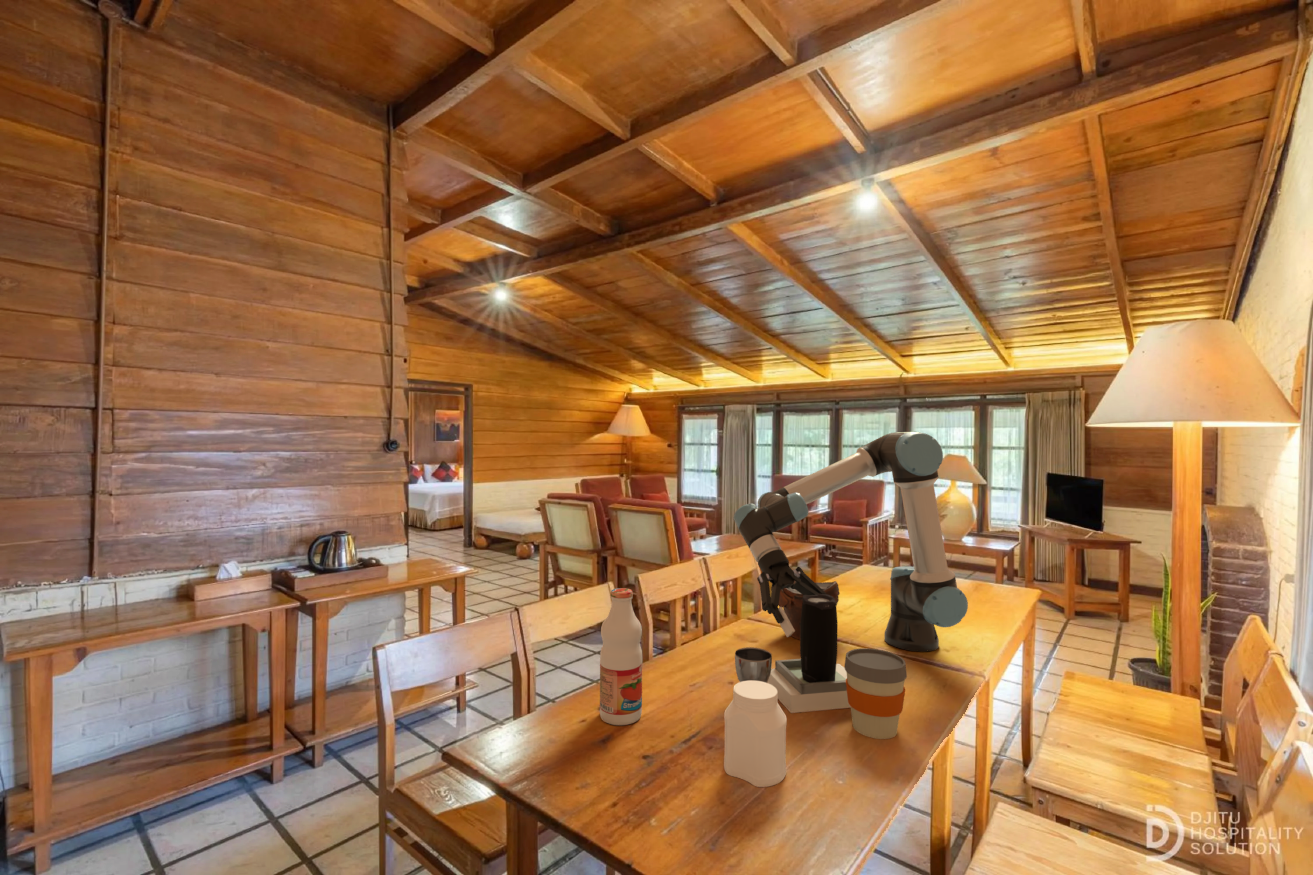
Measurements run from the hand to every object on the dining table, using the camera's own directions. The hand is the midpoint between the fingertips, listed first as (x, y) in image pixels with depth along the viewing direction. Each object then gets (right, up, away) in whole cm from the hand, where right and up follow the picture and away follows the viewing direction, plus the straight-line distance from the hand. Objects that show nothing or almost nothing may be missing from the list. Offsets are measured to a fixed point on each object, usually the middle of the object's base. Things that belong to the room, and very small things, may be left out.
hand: (811, 629), depth 142 cm
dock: (+3, -16, 0) cm, 16 cm away
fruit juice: (-46, -16, -12) cm, 50 cm away
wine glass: (-17, -16, -14) cm, 27 cm away
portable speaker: (+1, -12, -1) cm, 12 cm away
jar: (-19, -16, -32) cm, 41 cm away
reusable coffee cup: (+9, -16, -16) cm, 25 cm away
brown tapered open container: (+10, -16, +42) cm, 46 cm away
